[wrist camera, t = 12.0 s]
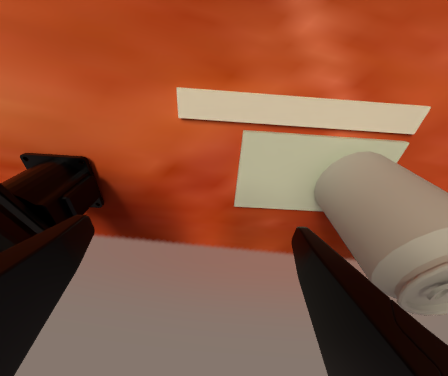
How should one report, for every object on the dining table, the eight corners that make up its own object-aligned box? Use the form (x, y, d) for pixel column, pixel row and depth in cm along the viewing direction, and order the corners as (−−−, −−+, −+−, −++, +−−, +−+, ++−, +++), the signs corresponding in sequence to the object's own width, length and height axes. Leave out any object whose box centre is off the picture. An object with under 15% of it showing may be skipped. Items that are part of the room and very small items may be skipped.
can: (376, 201, 22) (505, 318, 12) (310, 211, 23) (377, 328, 13) (393, 140, 18) (614, 238, 8) (311, 156, 19) (412, 262, 9)
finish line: (179, 116, 17) (178, 117, 17) (177, 87, 16) (176, 87, 15) (410, 132, 18) (413, 134, 17) (427, 106, 16) (431, 106, 16)
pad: (234, 203, 23) (234, 206, 22) (243, 129, 18) (243, 131, 17) (361, 211, 23) (364, 213, 23) (405, 141, 18) (409, 142, 18)
